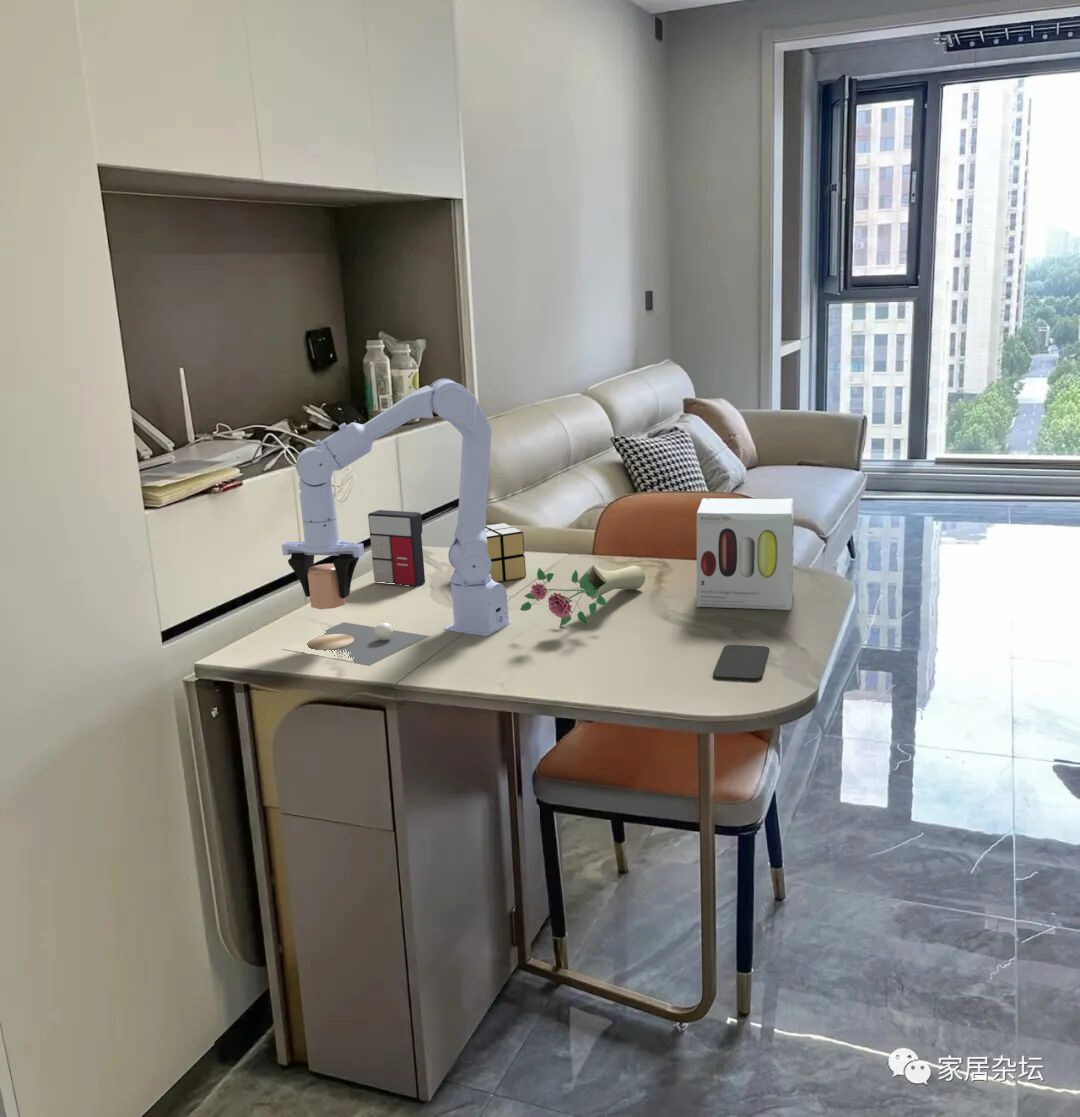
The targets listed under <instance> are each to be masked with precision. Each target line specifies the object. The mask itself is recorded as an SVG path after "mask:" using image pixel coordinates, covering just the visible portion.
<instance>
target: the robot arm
mask: <svg viewBox="0 0 1080 1117" xmlns="http://www.w3.org/2000/svg"><path fill="white" fill-rule="evenodd" d="M433 412H434V413H435V414H437V415H438V416H439V417H440V418H442V419H443V420H444V421H446V422H448V423H450V424H451V425H452V426H453V427H454V428H455V429H456V430H457V431H458V432H459V433H460V434H461V436H462V439H461V440H462V443H461V462H460V476H459V477H460V479H459V491H458V492H459V493H458V494H459V497H458V512H457V524H456V528H455V531H454V538H453V542H452V544H451V545H450V547H449V550H448V561H449V563H450V565H451V566H452V567H453V569H454V571H453V574H452V576H450V586H451V587H450V588H451V598H452V599H451V601H452V614H453V623H451V624H449V625H447V626H444V630H445V631H451V632H458V633H464V634H470V635H475V636H476V635H478V636H483V637H488V636H491V635H492V634H494V633H496V632H497V631H499V630H501V629H503V628H506V627H507V626H509V625H511V624H512V621H510V620H509V607H508V594H507V589H506V587H505V585H504V584H502V583H501V582H498V583H497V582H495V581H493V580H492V579H491V575H490V571H491V566H492V564H491V559H490V557H489V555H488V552H487V536H486V530H485V526H486V521H487V507H488V488H489V477H490V476H489V475H490V460H491V459H490V456H491V442H492V440H491V439H492V426H491V424H490V422H489V420H488V418H487V416H486V415H485V412H484V411H483V410H482V408H481V407H480V404H479V403H478V401H477V397H476V396H475V395H474V394H473V393H472V392H471V391H469V390H468V388H466V387H465V386H463V385H462V384H460V383H457V382H455V380H452V379H450V378H440V379H437V380H435V381H433V382H432V383H431V384H430V385H425V386H423V387H420V388H418V389H416V390H415V391H413V392H411V393H409V394H407V395H406V396H405V397H403V398H401V399H400V400H398V401H397V402H396V403H394V404H392V405H391V406H389V407H388V408H386V409H385V410H383V411H381V412H380V413H379V414H377V415H376V416H374V417H372V419H369V420H368V421H367V422H365V423H362V424H361V423H357V422H353V421H352V422H350V423H349V424H346V422H344V423H341V424H340V425H339V426H338V429H339V430H337V431H336V432H334V433H332V434H331V435H329V436H327V437H326V438H324V439H323V440H320V439H317V440H315V441H314V445H315V446H313V447H312V446H310V447H307V448H305V449H303V450H302V451H300V452H299V454H298V456H297V459H296V462H295V470H296V472H297V475H298V477H299V482H298V484H299V485H298V486H299V487H298V488H299V490H300V492H299V500H300V501H299V502H300V509H301V520H302V526H303V528H302V529H303V538H304V541H287V542H285V543H282V544H281V549H282V550H281V551H282V555H283V556H290V555H291V556H290V558H288V560H287V562H288V563H287V564H288V565H289V566H290V568H292V570H293V572H294V573H295V574H296V576H297V578H298V580H299V583H300V585H301V588H302V591H303V592H304V595H305V597H307V598H310V591H309V582H308V569H309V568H310V567H312V566H315V565H314V563H315V556H333V557H334V556H336V557H337V558H335V559H334V560H332V564H334V567H335V569H336V573H337V577H338V583H339V593H340V597H341V598H345V599H346V598H347V597H349V596H350V594H351V586H352V585H351V584H352V580H353V575H354V572H355V569H356V567H357V564H358V562H359V559H360V558H361V557H363V556H364V555H365V550H364V547H365V546H364V543H356V542H355V543H354V542H350V541H345V540H344V541H343V540H340V537H339V528H338V517H337V509H336V501H335V499H336V498H335V491H334V490H333V486H332V485H333V483H332V476H333V473H334V472H335V471H337V472H338V471H341V470H342V469H344V468H346V467H348V466H350V465H351V464H353V463H354V462H356V461H358V460H360V459H361V458H362V457H365V456H366V455H367V454H369V453H371V451H372V449H373V443H374V441H375V440H378V439H379V438H381V437H383V436H384V435H386V434H388V433H390V432H391V431H393V430H395V429H397V428H398V427H401V426H402V425H404V424H406V423H408V422H409V421H411V420H413V419H434V415H433V414H434V413H433Z"/></svg>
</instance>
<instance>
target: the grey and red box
mask: <svg viewBox="0 0 1080 1117" xmlns="http://www.w3.org/2000/svg"><path fill="white" fill-rule="evenodd" d="M367 518H368V529H369V538H370V548H371V557H372V558H371V559H372V567H373V578H374V582H375V581H376V582H385V583H395V584H401V585H400V586H402V585H409V586H408V587H412V586H415V588H417V587H416V586H418V587H420V586H422V585H424V584H425V583H426V576H425V573H426V572H425V564H424V562H425V561H424V553H423V552H424V551H423V540H422V533H423V521H422V518H423V517H422V513H421V512H420V511H418V512H416V511H403V510H402V511H401V510H384V509H378V510H375V511H372V512H369V513H368V514H367ZM376 582H375V583H376ZM423 583H424V584H423Z"/></svg>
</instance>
